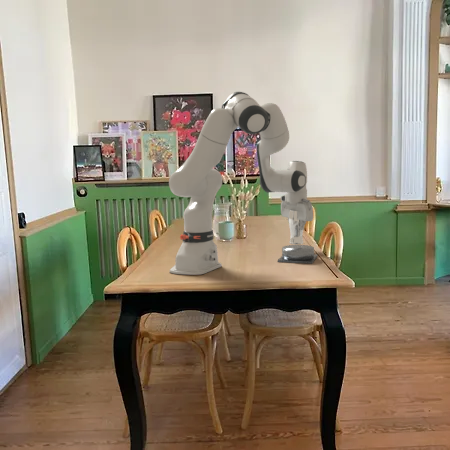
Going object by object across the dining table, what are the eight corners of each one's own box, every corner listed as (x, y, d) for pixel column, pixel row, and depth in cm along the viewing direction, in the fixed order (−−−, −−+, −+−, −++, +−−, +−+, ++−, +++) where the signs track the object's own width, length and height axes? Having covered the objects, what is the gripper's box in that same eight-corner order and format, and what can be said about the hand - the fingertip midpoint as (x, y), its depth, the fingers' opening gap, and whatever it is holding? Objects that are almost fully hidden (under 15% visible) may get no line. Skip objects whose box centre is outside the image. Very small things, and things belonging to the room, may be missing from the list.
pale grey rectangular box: (306, 242, 219) (307, 209, 217) (300, 245, 213) (301, 211, 211) (292, 241, 222) (293, 208, 220) (285, 243, 217) (286, 210, 214)
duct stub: (312, 263, 193) (312, 251, 192) (277, 261, 198) (277, 250, 197) (317, 256, 206) (317, 245, 205) (285, 254, 211) (285, 244, 210)
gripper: (317, 199, 207) (316, 231, 209) (289, 195, 225) (289, 225, 227) (304, 200, 204) (304, 232, 206) (278, 196, 222) (278, 226, 224)
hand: (296, 228), depth 217 cm, fingers closed on pale grey rectangular box, 6 cm apart
